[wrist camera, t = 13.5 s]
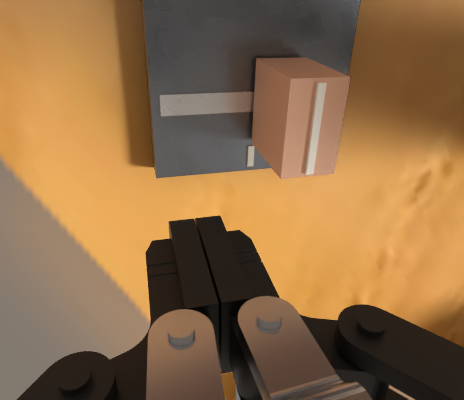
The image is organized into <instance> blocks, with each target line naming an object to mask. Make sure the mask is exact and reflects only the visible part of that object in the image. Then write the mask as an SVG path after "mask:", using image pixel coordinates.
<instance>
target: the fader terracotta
mask: <svg viewBox="0 0 464 400" xmlns="http://www.w3.org/2000/svg"><path fill="white" fill-rule="evenodd" d="M350 78H351V77H350V76H348V75H345V74H343V73H341V72H338V71H336V70H334V69H331V68H329V67H327V66H325V65H322V64H320V63H318V62H315V61H313V60H311V59H309V58H256V73H255V90H254V108H253V126H252V145H253V146H254V147H255V148H256V149H257V151H258V152H259V153H260V154H261V155H262V157H263V158H264V159H265V160H266V162H267V163H268V164H269V165H270V166H271V168H272V169H273V170H274V171H275V173H276V174H277V175H278V176H279V177H280V179H285V178H295V177H306V176H316V175H326V174H334V170H335V165H336V159H337V153H338V147H339V142H340V136H341V130H342V124H343V119H344V113H345V107H346V101H347V96H348V90H349V84H350Z"/></svg>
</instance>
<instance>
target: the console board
mask: <svg viewBox="0 0 464 400" xmlns="http://www.w3.org/2000/svg"><path fill="white" fill-rule="evenodd" d="M141 1H142V14H143V27H144V41H145V54H146V67H147V80H148V93H149V107H150V120H151V133H152V146H153V160H154V170H155V174H156V178H163V177H174V176H186V175H197V174H208V173H220V172H231V171H242V170H253V169H265V168H271V166H270V165H269V164H268V163H267V162H266V160H265V159H264V158H263V157H262V155H261V154H260V153H259V152H258V151H257V149H256V148H255V147H254V146H253V145H252V126H253V108H254V90H255V73H256V58H309V59H311V60H313V61H315V62H318V63H320V64H322V65H325V66H327V67H329V68H331V69H334V70H336V71H338V72H341V73H343V74H345V75H348V72H349V66H350V60H351V54H352V48H353V42H354V36H355V30H356V25H357V19H358V13H359V7H360V1H361V0H141Z"/></svg>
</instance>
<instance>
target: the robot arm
mask: <svg viewBox="0 0 464 400" xmlns="http://www.w3.org/2000/svg"><path fill="white" fill-rule="evenodd" d="M169 235H170V239H163V240H155V241H152V242H151V244H150V246H149V248H148V249H147V251H146V264H147V276H148V289H149V302H150V315H151V324H150V328H149V330H148V333H147V334H146V336H145V337H144V338H143V340H142V341H141V342H140V343H139V344H137V345H136V346H135V347H134V348H132V349H131V350H129V351H127V352H125V353H123V354H121V355H119V356H116V357H114V358H112V359H110V360H109V359H108V358H107V357H106V356H104V355H102V354H100V353H97V352H92V351H83V352H77V353H73V354H70V355H68V356H65V357H63V358H62V359H60V360H58V361H57V362H55V363H54V364H53V365H51V366H50V367H49V368H48V369H47V370H46V371H45V372H44V373H43V374H42V375H41V376H40V377H39V378H38V379H37V380H36V381H35V382H34V383H33V384H32V385H31V386H30V387H29V388H28V389H27V390H26V391H25V392H24V393H23V394H22V395H21V396H20V397H19V398H18V399H17V400H225V398H224V391H223V385H222V378H221V373H226V372H231V371H232V372H233V376H234V379H235V383H236V400H409V399H408V398H406V397H404V396H402V395H401V394H399V393H397V392H395V391H394V390H392V389H390V388H389V386H392V387H394V388H395V389H397V390H399V391H401V392H402V393H404V394H406V395H408V396H410V397H411V398H413V399H415V400H464V348H463V347H461V346H459V345H457V344H455V343H453V342H451V341H449V340H446V339H444V338H442V337H440V336H438V335H436V334H434V333H431V332H429V331H427V330H425V329H423V328H421V327H419V326H416V325H414V324H412V323H410V322H408V321H406V320H404V319H401V318H399V317H397V316H395V315H393V314H391V313H389V312H387V311H384V310H382V309H380V308H377V307H374V306H370V305H353V306H350V307H347V308H345V309H344V310H343V311H342V312H341V313H340V315H339V317H338V320H327V319H317V318H309V317H306V316H302V315H300V314H299V313H298V312H297V310H296V309H295V308H294V307H293V306H292V305H291V304H290V303H288V302H287V301H285V300H283V299H280V298H279V296H278V293H277V291H276V289H275V287H274V285H273V283H272V281H271V279H270V277H269V275H268V273H267V271H266V269H265V267H264V265H263V263H262V262H261V259H260V256H259V254H258V253H257V250H256V248H255V246H254V244H253V242H252V240H251V239H250V238H249V237H248V236H246V235H245V234H244V233H243V232H241V231H240V230H236V231H228V232H227V231H226V228H225V226H224V224H223V221H222V219H221V217H220V216H212V217H203V218H195V221H194V219H186V220H177V221H169ZM219 365H220V366H219ZM220 369H221V372H220Z"/></svg>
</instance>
